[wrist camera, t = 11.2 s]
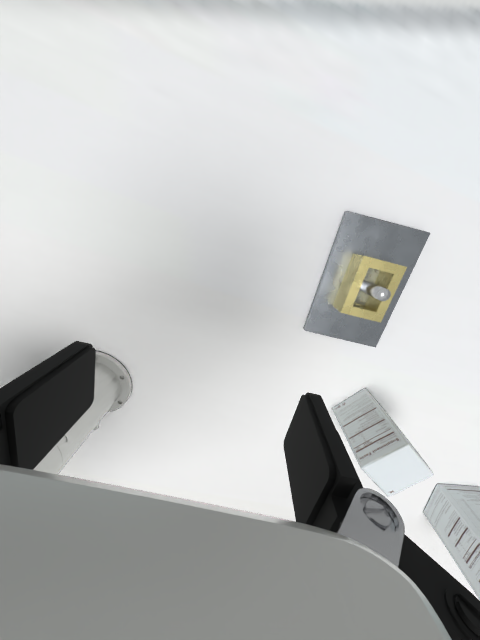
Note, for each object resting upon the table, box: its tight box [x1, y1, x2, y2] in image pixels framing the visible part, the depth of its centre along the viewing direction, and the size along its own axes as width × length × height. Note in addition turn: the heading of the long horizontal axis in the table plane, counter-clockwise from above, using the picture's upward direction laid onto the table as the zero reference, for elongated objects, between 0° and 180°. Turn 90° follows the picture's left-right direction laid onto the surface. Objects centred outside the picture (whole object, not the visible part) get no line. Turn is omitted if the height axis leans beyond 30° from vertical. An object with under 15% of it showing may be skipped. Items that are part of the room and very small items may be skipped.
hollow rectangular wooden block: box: [332, 254, 407, 323], centre depth 34 cm, size 8×6×4 cm
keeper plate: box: [304, 211, 430, 347], centre depth 34 cm, size 18×12×7 cm, turn 167°
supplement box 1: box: [332, 388, 434, 496], centre depth 39 cm, size 7×7×13 cm
